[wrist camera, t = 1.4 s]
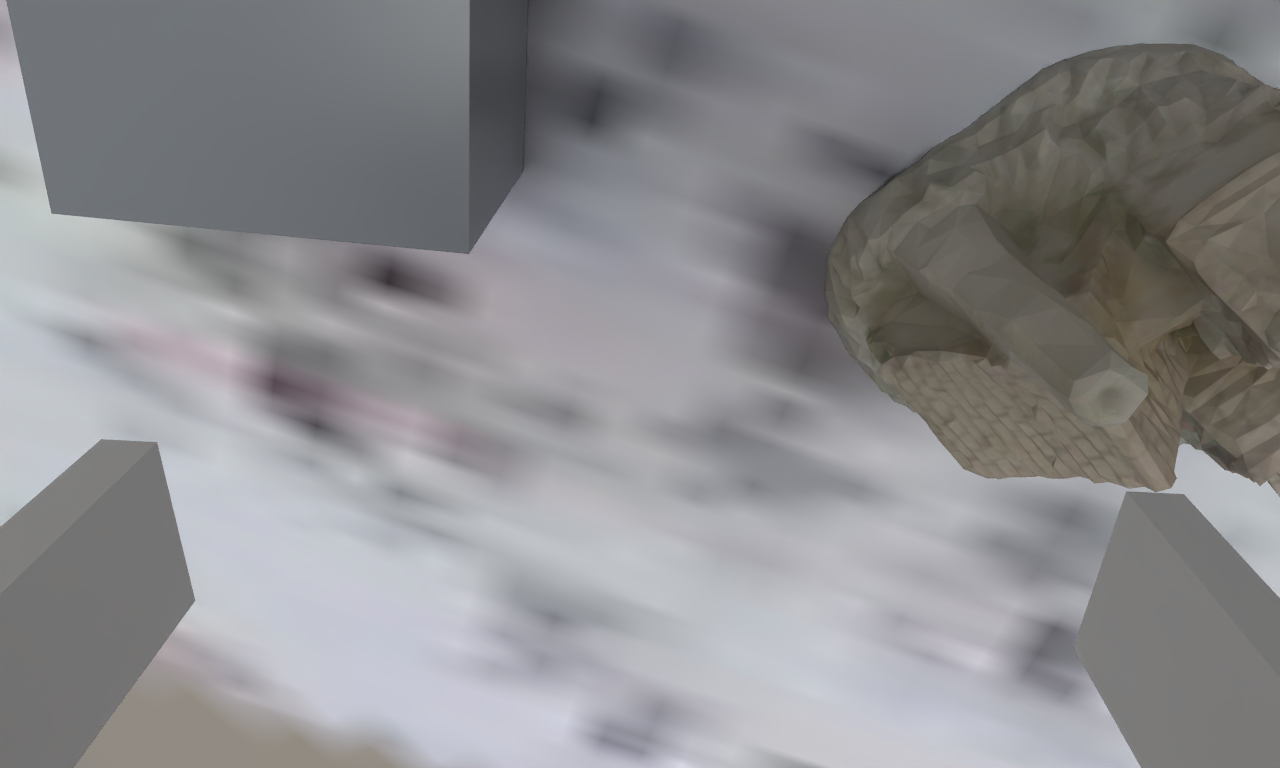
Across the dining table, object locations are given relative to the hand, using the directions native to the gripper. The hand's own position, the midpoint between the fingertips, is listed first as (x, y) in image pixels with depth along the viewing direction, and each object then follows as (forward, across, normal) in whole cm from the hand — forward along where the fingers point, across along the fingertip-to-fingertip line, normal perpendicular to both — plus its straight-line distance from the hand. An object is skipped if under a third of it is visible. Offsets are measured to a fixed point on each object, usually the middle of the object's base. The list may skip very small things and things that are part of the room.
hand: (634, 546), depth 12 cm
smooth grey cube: (+19, -9, +6) cm, 22 cm away
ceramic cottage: (+20, +15, -3) cm, 25 cm away
